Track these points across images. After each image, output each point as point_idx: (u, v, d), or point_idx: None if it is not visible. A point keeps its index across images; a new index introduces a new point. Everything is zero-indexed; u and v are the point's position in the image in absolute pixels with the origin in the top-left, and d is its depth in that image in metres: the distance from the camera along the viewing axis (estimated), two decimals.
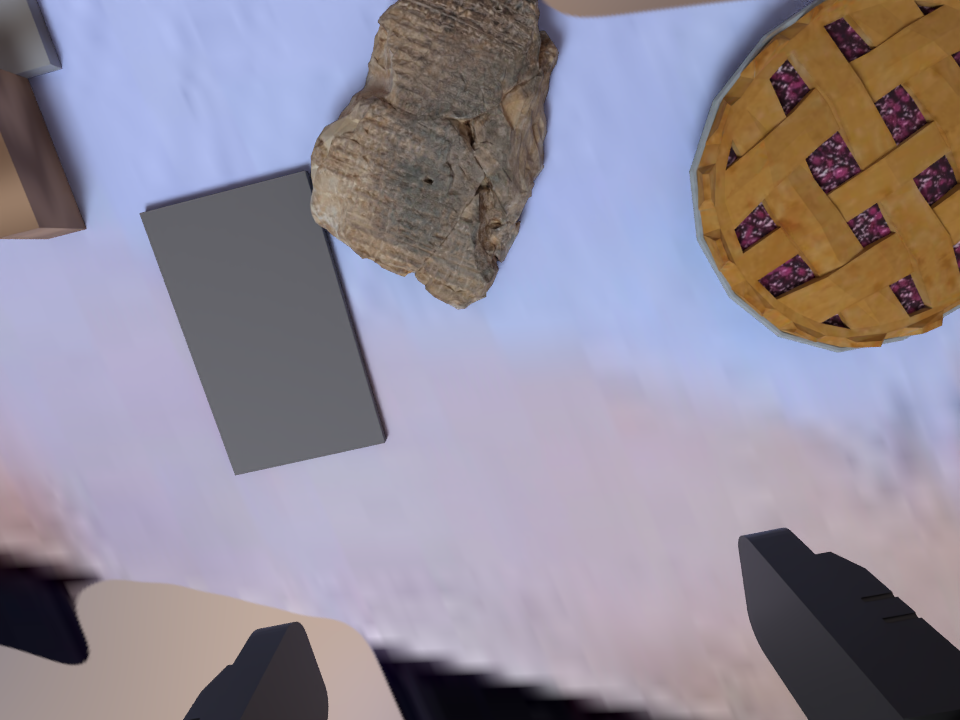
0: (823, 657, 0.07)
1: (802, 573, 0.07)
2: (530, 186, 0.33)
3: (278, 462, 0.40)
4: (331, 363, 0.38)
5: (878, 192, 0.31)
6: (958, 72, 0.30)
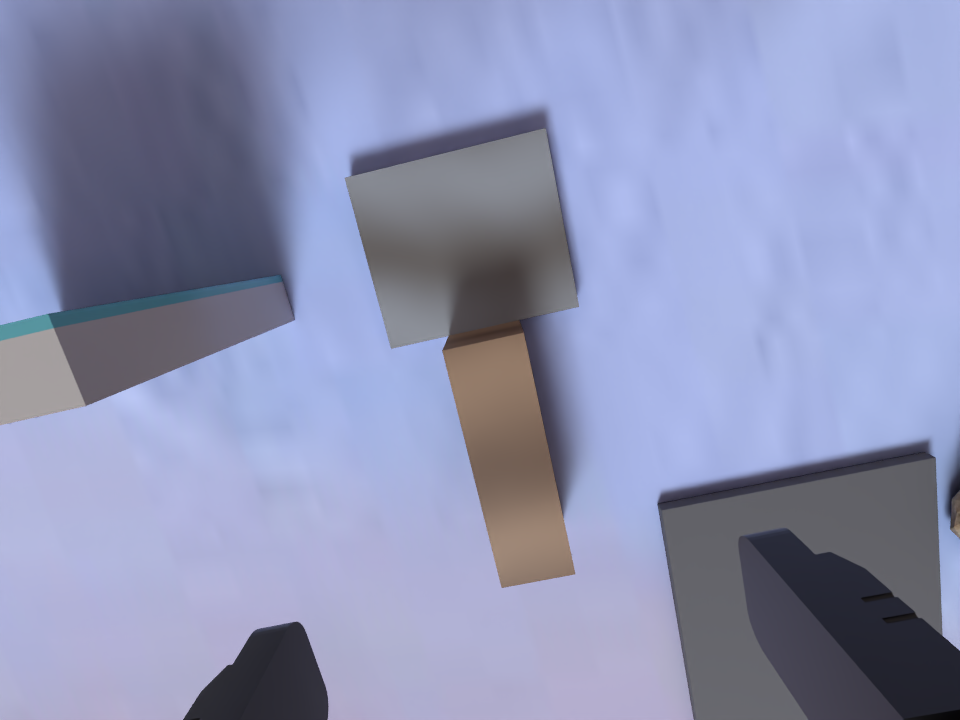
0: (823, 657, 0.07)
1: (802, 573, 0.07)
2: None
3: None
4: None
5: None
6: None
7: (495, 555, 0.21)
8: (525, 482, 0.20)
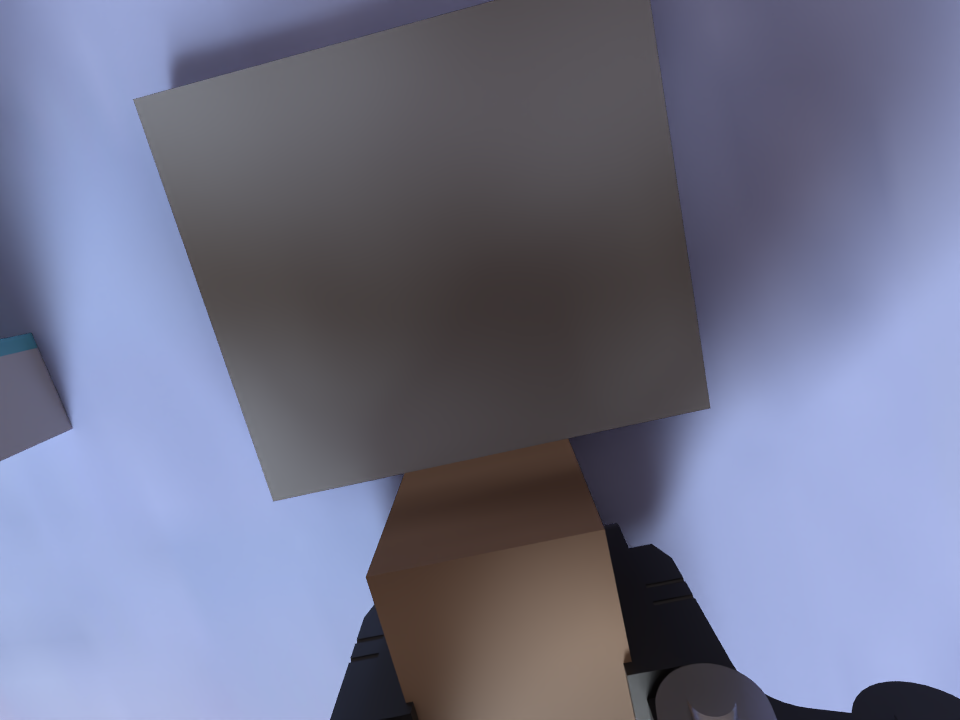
0: None
1: (611, 561, 0.09)
2: None
3: None
4: None
5: None
6: None
7: None
8: None
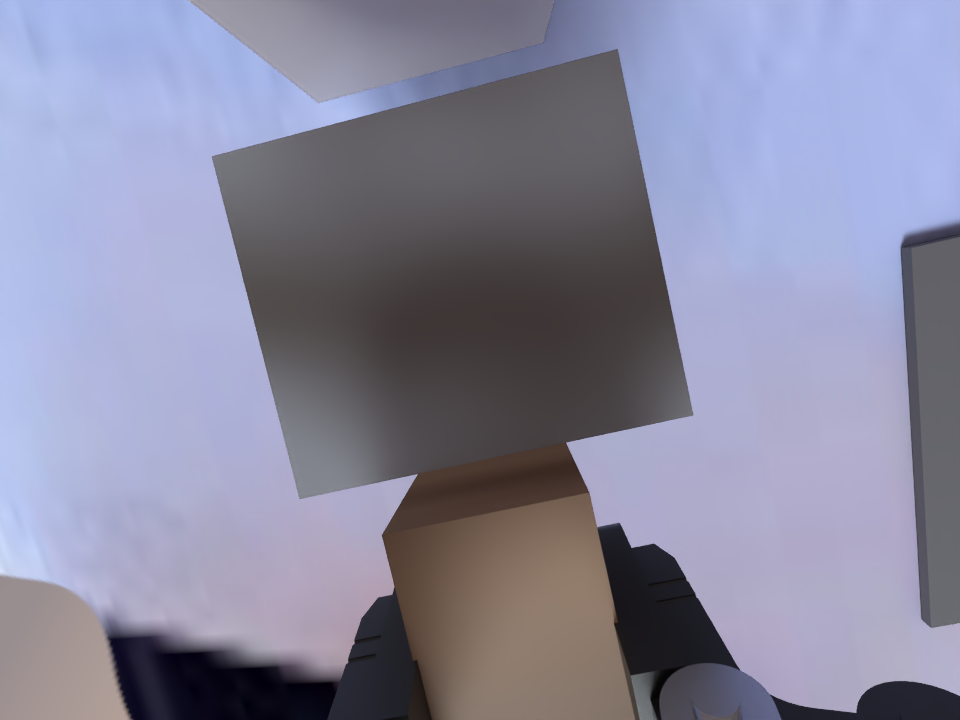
0: None
1: (613, 561, 0.09)
2: None
3: None
4: None
5: None
6: None
7: None
8: None
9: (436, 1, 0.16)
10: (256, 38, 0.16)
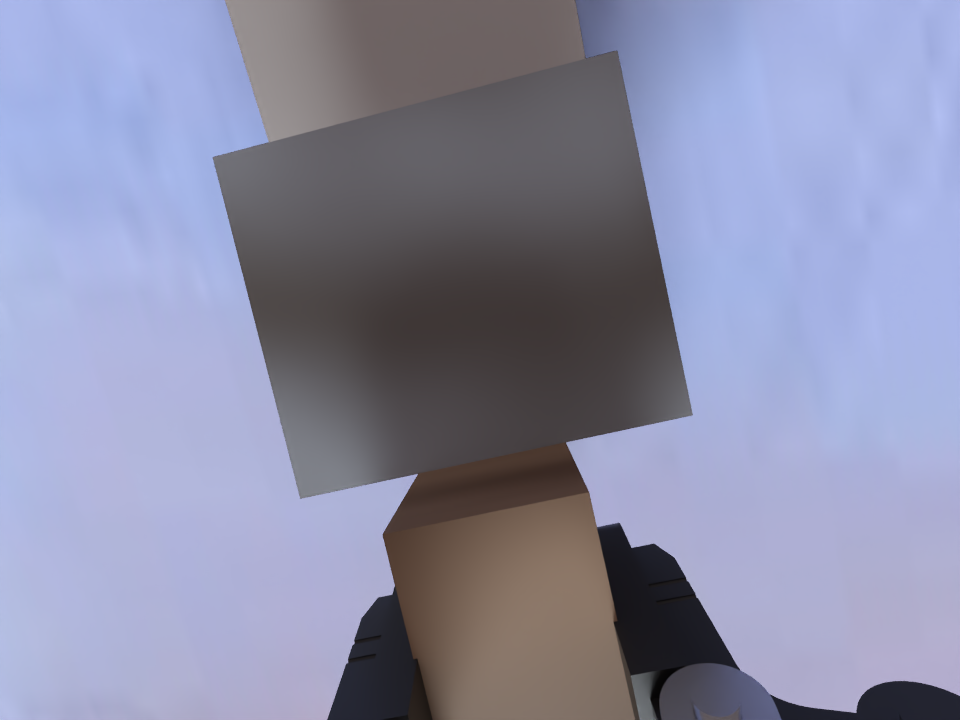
0: None
1: (613, 561, 0.09)
2: None
3: None
4: None
5: None
6: None
7: None
8: None
9: None
10: None
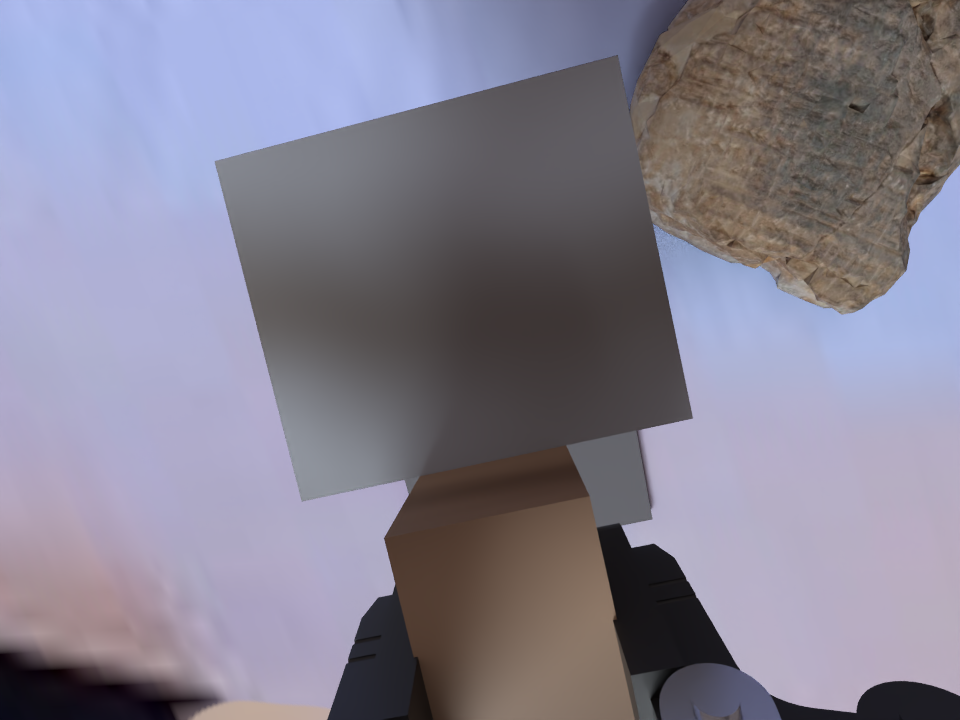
0: None
1: (612, 561, 0.09)
2: None
3: None
4: None
5: None
6: None
7: None
8: None
9: None
10: None
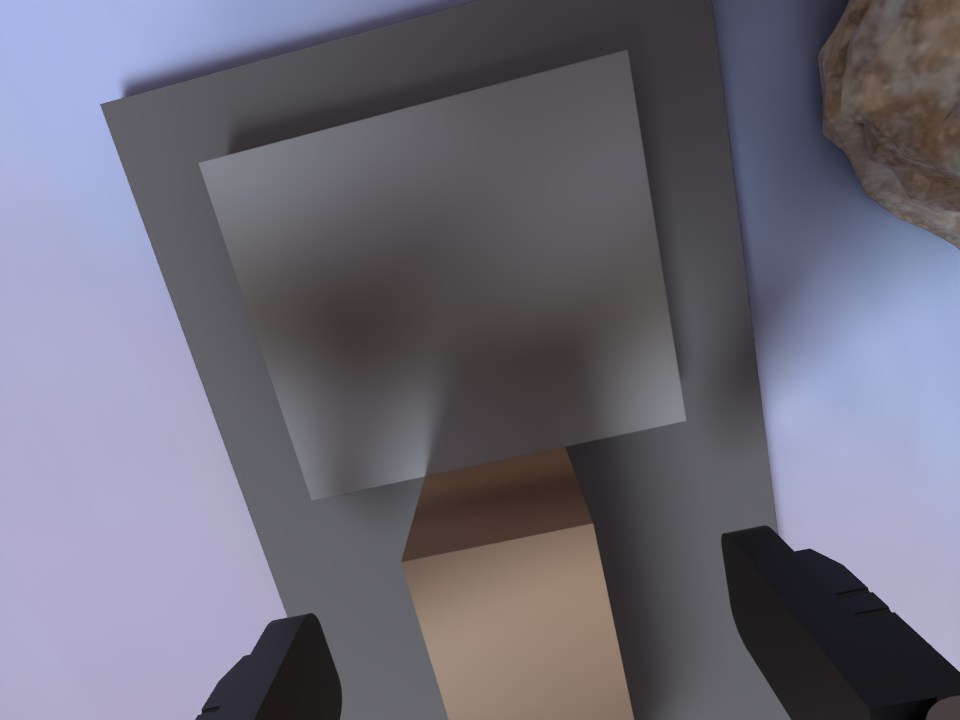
0: (798, 650, 0.07)
1: (780, 569, 0.08)
2: None
3: None
4: (690, 579, 0.13)
5: None
6: None
7: None
8: None
9: None
10: None
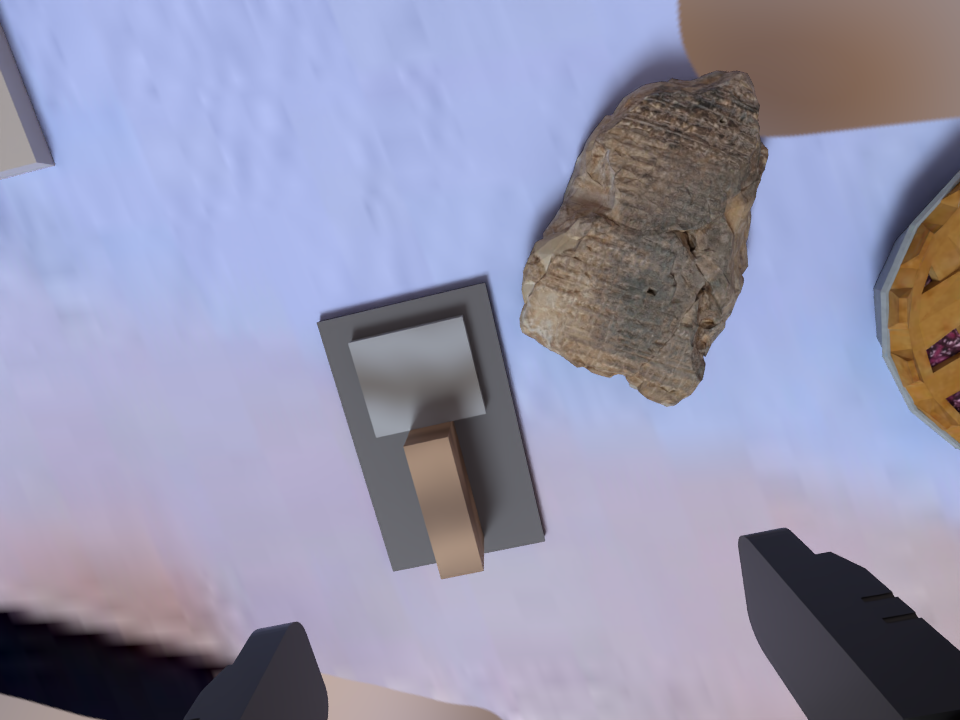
0: (823, 657, 0.07)
1: (803, 573, 0.07)
2: (742, 284, 0.33)
3: None
4: (497, 465, 0.38)
5: None
6: None
7: (436, 560, 0.36)
8: (452, 518, 0.35)
9: None
10: None
